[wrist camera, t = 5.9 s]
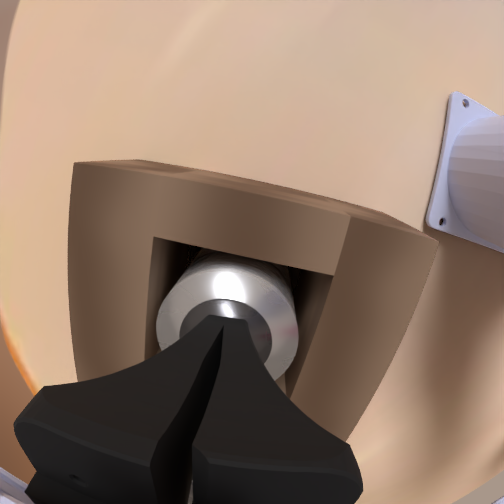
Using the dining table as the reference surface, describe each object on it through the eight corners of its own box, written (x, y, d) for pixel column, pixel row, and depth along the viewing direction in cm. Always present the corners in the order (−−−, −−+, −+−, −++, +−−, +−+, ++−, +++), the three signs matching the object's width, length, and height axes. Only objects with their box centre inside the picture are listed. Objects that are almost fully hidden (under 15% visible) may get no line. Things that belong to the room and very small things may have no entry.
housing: (383, 212, 15) (439, 241, 9) (278, 470, 21) (278, 527, 16) (138, 159, 15) (74, 162, 9) (128, 438, 21) (105, 489, 16)
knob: (299, 242, 15) (317, 292, 10) (276, 328, 17) (278, 405, 11) (201, 221, 15) (161, 258, 10) (187, 308, 17) (152, 377, 11)
